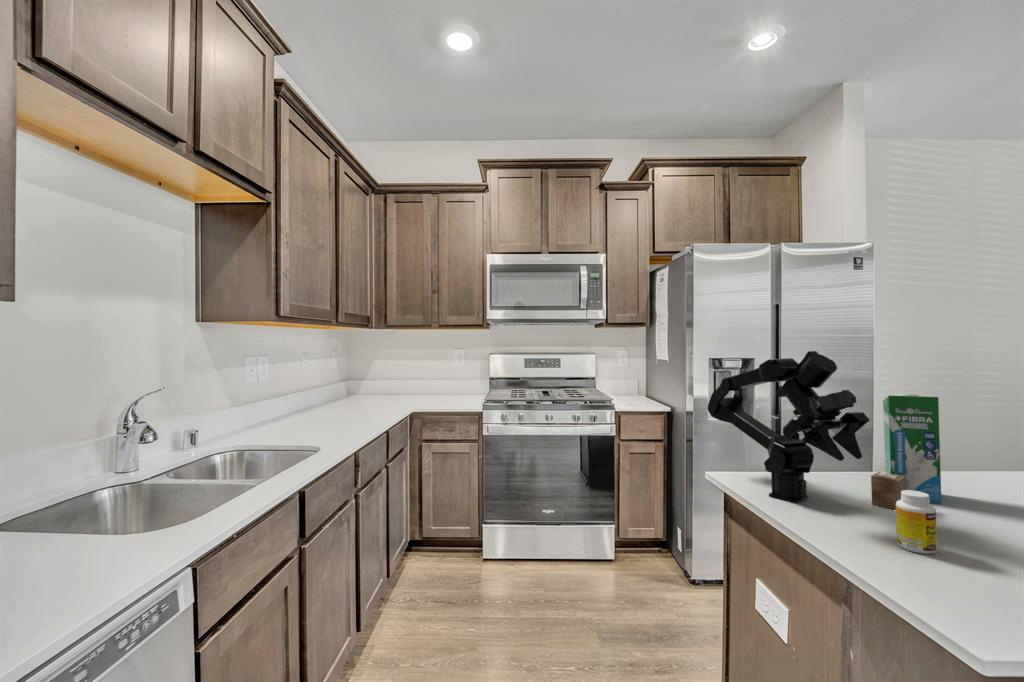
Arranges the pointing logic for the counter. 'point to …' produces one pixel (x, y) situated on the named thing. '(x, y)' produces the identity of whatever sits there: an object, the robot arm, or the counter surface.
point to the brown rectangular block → (887, 489)
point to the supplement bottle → (916, 522)
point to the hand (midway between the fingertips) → (851, 458)
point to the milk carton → (913, 442)
